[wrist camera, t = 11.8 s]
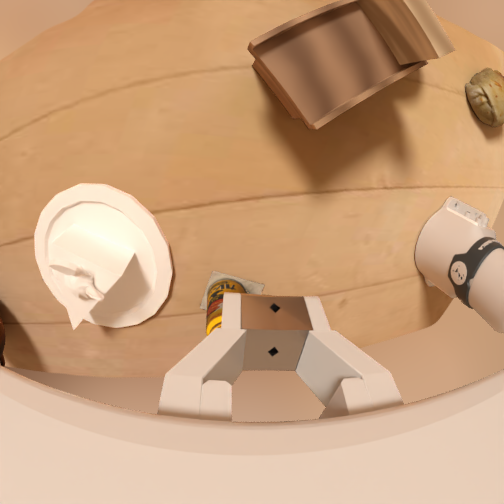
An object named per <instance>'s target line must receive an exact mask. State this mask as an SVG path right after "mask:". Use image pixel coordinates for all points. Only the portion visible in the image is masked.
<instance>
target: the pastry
mask: <svg viewBox="0 0 504 504" xmlns="http://www.w3.org/2000/svg"><path fill="white" fill-rule="evenodd" d="M465 90H466V93H467V97H468V100H469V102H470V104H471V106H472V108H473V110H474V112H475V114H476V116H477V117H478V119H480V121H481V122H483V123H486V124H489V125H490V126H492V127H498V126H500V125H502V124H504V77H503V76H502V74H501V73H500V72H498V71H496V70H494V71H493V70H492V69H490V68H485V69H483V70H482V71H481V72H480V73H477V74H476V75H474V76H473V77H472V79H471V81H470V83H467V84H466V85H465Z"/></svg>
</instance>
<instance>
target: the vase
mask: <svg viewBox="0 0 504 504" xmlns="http://www.w3.org/2000/svg"><path fill="white" fill-rule="evenodd" d="M4 345H5V329H4V325H3V322H2V320H1V318H0V363H1V366H3V367H4V366H5V360H4V356H3V350H4Z"/></svg>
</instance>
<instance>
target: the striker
mask: <svg viewBox="0 0 504 504" xmlns="http://www.w3.org/2000/svg"><path fill="white" fill-rule="evenodd" d="M357 3H358V5H359V6H360V7H361V8H362V10H363V11H364V12H365V14H366V15H367V16H368V18H369V19H370V20H371V22H372V23H373V24H374V26H375V27H376V28H377V30H378V31H379V33H380V34H381V36H382V37H383V39H384V40H385V42H386V43H387V45H388V46H389V48H390V49H391V51H392V53H393V54H394V56H395V57H396V59H397V61H398V62H399V64H400V65H403V64H407V63H413V62H418V61H424V60H430V59H437V58H441V57H443V56H445V55H447V54H449V53H451V52H453V51H455V48H454V46H453V44H452V42H451V40H450V39H449V37H448V35H447V33H446V32H445V30H444V28H443V26H442V25H441V23H440V21H439V20H438V18H437V17H436V15H435V14H434V12H433V10H432V9H431V7H430V6H429V5H428V3H427V2H426V0H359V1H357Z"/></svg>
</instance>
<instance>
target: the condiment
mask: <svg viewBox="0 0 504 504" xmlns="http://www.w3.org/2000/svg"><path fill="white" fill-rule="evenodd" d="M264 286H265V285H264V284H259V283H256V282H252V281H248V280H245V279H241V278H238V277H235V276H231V275H227V274H224V273H220V272H216V271H212V274H211V277H210V279H209V282H208V285H207V288H206V291H205V294H204V297H203V300H202V303H201V306H200V309H205V310H207V323H206V334H207V336H208V335H209V334H210V333H211V332H212V331H213V330H215V329H216V328H221V323H222V310H223V297H224V292H229V293H240V294H241V293H245V294H259V295H260V294H261V292H262V290H263V288H264ZM246 290H247V291H246ZM247 292H249V293H247Z"/></svg>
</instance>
